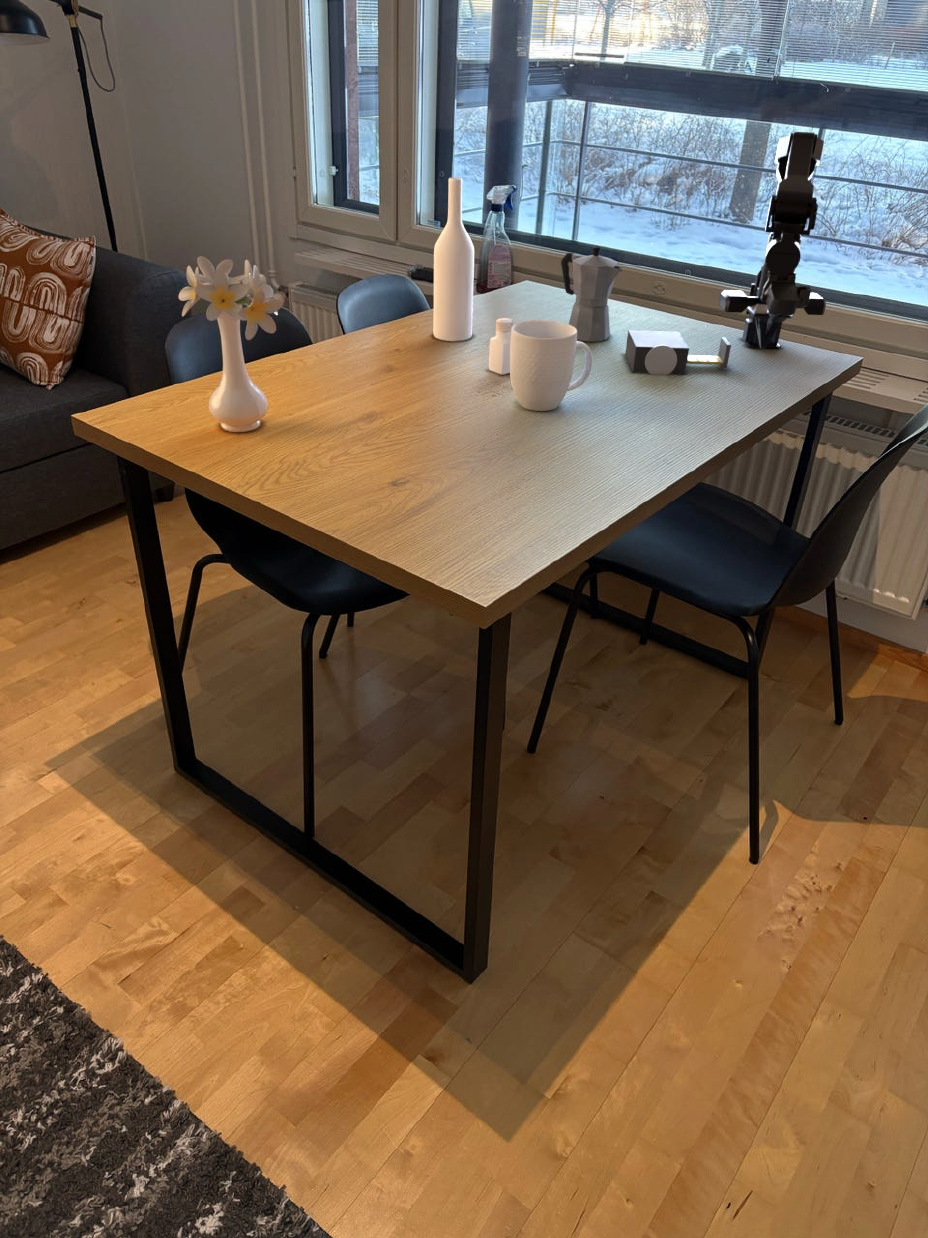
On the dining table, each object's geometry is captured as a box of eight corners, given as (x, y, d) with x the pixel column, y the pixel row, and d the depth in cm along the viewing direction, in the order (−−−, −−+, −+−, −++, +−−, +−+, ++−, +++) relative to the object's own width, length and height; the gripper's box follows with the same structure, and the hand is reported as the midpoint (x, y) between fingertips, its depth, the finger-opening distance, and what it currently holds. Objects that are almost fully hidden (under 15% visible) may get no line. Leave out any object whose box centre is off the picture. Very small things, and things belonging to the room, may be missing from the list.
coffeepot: (626, 338, 192) (637, 248, 182) (598, 347, 186) (608, 254, 176) (570, 322, 201) (578, 235, 191) (542, 330, 195) (548, 241, 185)
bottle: (425, 336, 189) (426, 178, 172) (448, 328, 195) (450, 173, 178) (457, 343, 185) (460, 182, 169) (479, 335, 191) (484, 178, 174)
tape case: (674, 358, 182) (679, 328, 179) (684, 377, 173) (690, 345, 170) (624, 357, 182) (628, 327, 179) (632, 375, 173) (636, 344, 170)
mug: (573, 389, 164) (580, 316, 157) (601, 410, 156) (610, 333, 149) (497, 397, 160) (501, 322, 153) (522, 419, 151) (527, 340, 144)
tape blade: (721, 360, 179) (725, 337, 177) (726, 368, 175) (731, 344, 173) (672, 358, 179) (675, 335, 177) (676, 367, 175) (680, 343, 173)
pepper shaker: (501, 376, 169) (504, 324, 164) (487, 370, 172) (489, 319, 167) (517, 371, 172) (520, 321, 166) (502, 366, 174) (505, 316, 169)
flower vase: (255, 452, 137) (237, 281, 123) (175, 423, 146) (149, 260, 132) (315, 427, 146) (304, 265, 132) (236, 401, 155) (218, 246, 141)
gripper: (739, 272, 160) (723, 359, 169) (845, 275, 160) (823, 362, 169) (725, 258, 169) (710, 341, 178) (825, 261, 169) (805, 344, 178)
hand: (762, 347), depth 175 cm, fingers closed
